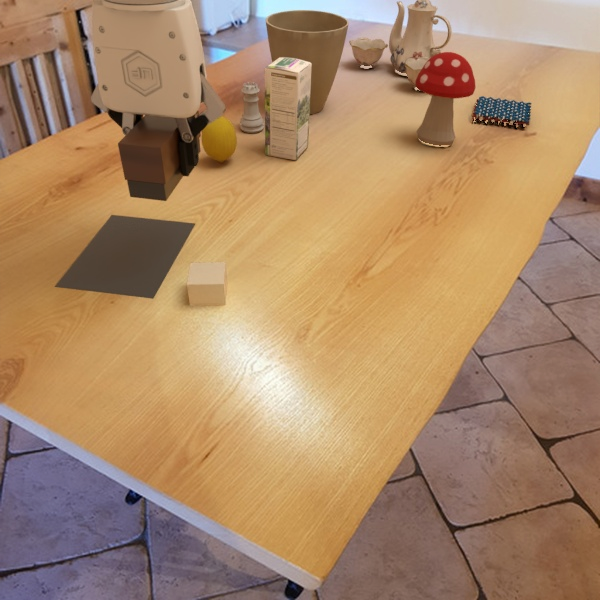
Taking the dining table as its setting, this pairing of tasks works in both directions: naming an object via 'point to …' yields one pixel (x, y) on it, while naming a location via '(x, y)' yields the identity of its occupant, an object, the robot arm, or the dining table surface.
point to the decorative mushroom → (443, 95)
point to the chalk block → (207, 283)
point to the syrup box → (287, 107)
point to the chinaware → (405, 40)
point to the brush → (152, 157)
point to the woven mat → (502, 110)
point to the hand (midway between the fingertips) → (166, 166)
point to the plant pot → (310, 46)
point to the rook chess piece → (251, 109)
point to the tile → (128, 257)
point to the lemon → (219, 139)
